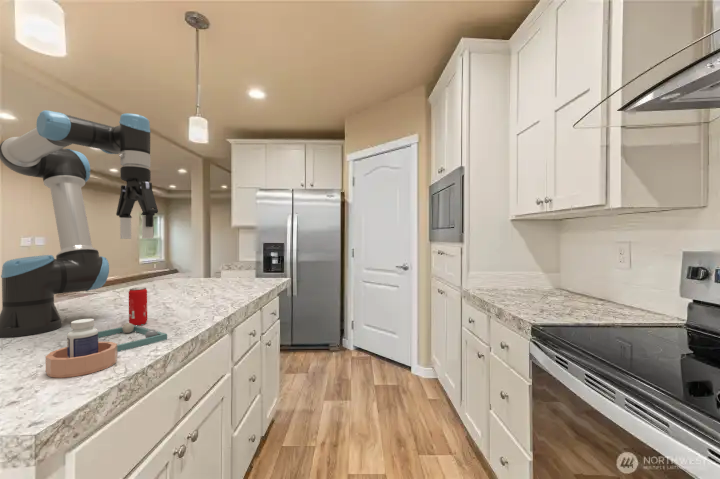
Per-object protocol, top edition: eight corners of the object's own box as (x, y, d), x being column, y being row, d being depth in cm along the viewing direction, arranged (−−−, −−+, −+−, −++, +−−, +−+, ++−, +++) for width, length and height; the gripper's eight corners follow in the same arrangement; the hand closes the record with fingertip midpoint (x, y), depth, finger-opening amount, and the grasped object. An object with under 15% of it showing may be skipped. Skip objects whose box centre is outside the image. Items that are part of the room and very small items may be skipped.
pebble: (120, 333, 102) (120, 323, 102) (131, 331, 105) (131, 321, 105) (124, 334, 101) (124, 324, 101) (136, 332, 103) (135, 322, 103)
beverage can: (130, 323, 115) (130, 288, 115) (148, 321, 117) (148, 287, 117) (127, 326, 110) (127, 290, 110) (146, 325, 112) (145, 289, 112)
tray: (69, 342, 93) (69, 337, 93) (133, 329, 107) (133, 324, 107) (100, 356, 82) (100, 349, 82) (167, 339, 96) (167, 334, 96)
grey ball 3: (143, 340, 95) (143, 330, 95) (154, 338, 97) (154, 327, 97) (148, 342, 93) (148, 331, 93) (159, 339, 96) (159, 329, 96)
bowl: (38, 370, 74) (38, 352, 74) (103, 354, 84) (103, 338, 84) (58, 382, 67) (58, 363, 67) (126, 363, 77) (125, 347, 77)
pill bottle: (104, 359, 78) (104, 317, 78) (83, 368, 73) (83, 323, 73) (83, 359, 79) (82, 317, 79) (60, 368, 73) (60, 323, 73)
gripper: (103, 170, 105) (103, 238, 105) (142, 160, 91) (143, 238, 91) (130, 174, 111) (130, 238, 111) (170, 164, 97) (171, 238, 98)
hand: (136, 238), depth 101 cm, fingers open, 13 cm apart
